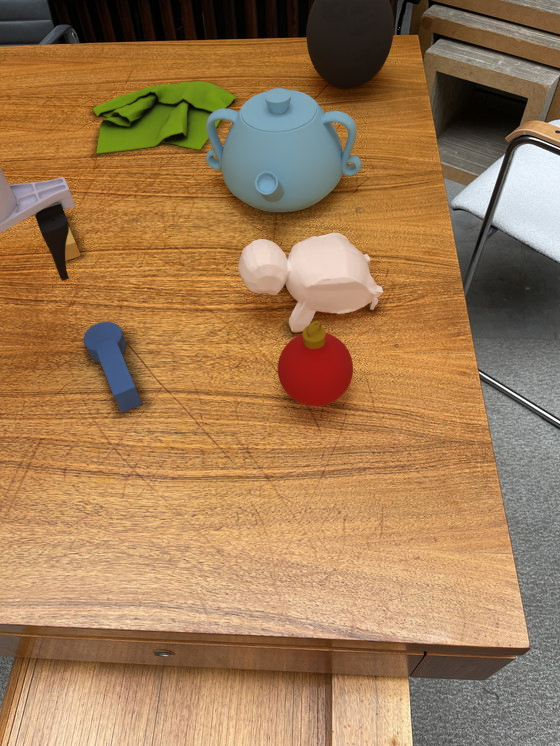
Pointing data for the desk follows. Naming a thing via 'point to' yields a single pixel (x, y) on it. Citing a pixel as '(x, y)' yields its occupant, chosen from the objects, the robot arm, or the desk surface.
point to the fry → (71, 247)
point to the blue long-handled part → (113, 362)
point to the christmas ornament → (315, 367)
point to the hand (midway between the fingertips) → (23, 287)
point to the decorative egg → (349, 40)
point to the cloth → (160, 116)
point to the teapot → (282, 150)
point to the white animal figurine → (311, 275)
